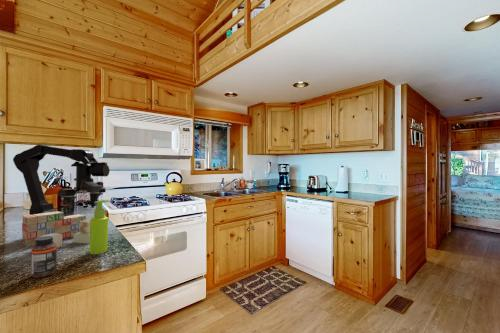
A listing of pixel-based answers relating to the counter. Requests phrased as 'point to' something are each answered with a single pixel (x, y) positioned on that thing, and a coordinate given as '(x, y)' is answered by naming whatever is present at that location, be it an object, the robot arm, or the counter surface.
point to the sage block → (81, 238)
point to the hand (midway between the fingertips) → (83, 209)
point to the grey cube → (56, 238)
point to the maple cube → (85, 226)
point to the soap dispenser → (99, 230)
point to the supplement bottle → (43, 257)
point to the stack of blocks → (49, 226)
